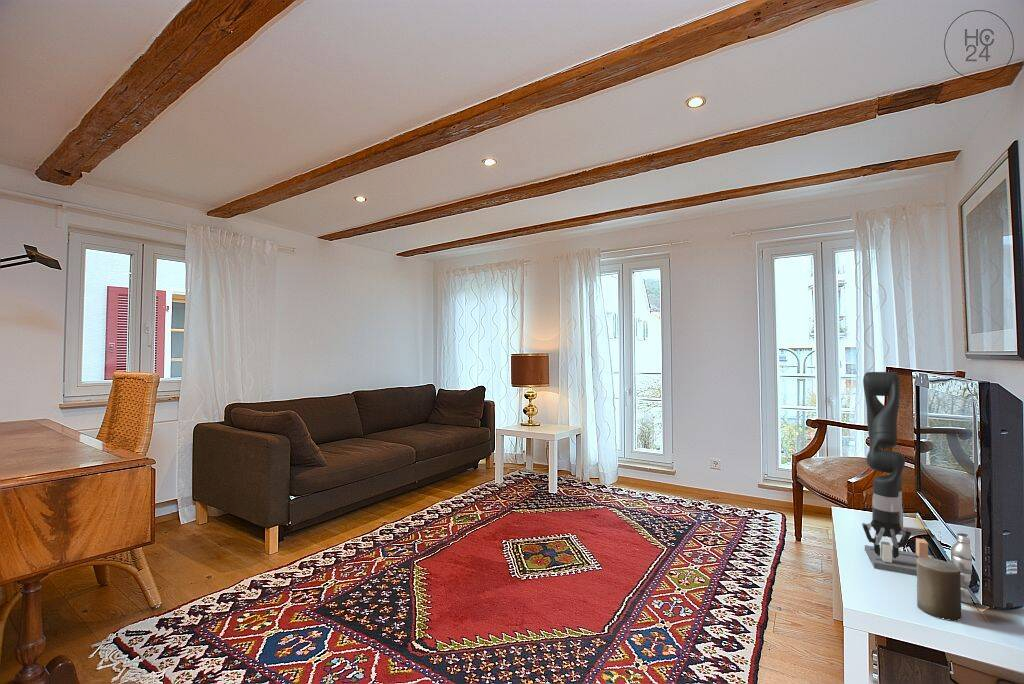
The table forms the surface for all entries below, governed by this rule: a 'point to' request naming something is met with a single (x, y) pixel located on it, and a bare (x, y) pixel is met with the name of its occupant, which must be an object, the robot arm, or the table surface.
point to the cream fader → (886, 551)
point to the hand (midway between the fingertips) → (886, 555)
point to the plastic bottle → (963, 564)
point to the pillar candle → (939, 588)
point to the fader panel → (895, 561)
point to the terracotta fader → (921, 548)
